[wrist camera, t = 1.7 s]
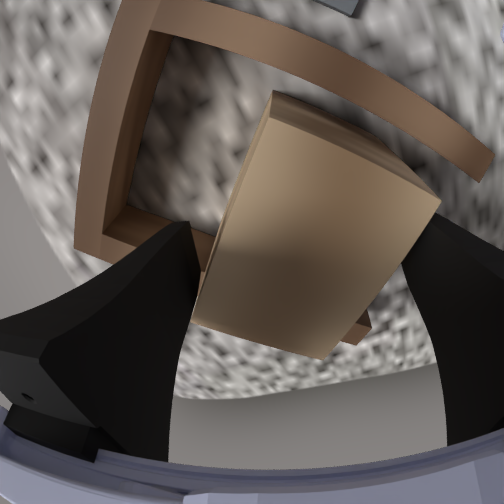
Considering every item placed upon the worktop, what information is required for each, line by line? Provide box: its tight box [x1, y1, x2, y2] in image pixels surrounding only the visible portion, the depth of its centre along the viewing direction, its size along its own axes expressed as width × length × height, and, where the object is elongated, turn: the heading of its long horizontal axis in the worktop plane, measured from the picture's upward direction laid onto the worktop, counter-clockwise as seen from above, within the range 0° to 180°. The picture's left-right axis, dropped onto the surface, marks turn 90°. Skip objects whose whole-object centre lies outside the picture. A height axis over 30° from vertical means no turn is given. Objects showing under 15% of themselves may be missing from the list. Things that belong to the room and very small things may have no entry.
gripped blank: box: [191, 90, 442, 360], centre depth 12 cm, size 5×7×7 cm
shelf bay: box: [74, 0, 495, 345], centre depth 13 cm, size 16×12×3 cm
